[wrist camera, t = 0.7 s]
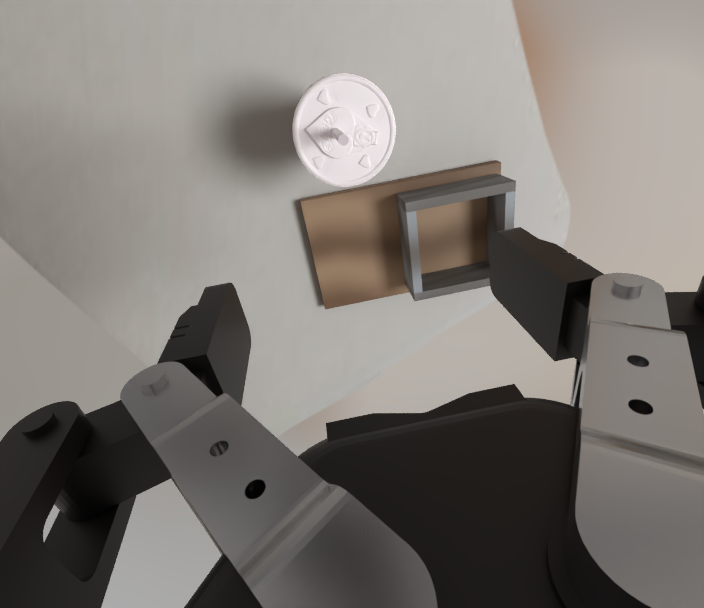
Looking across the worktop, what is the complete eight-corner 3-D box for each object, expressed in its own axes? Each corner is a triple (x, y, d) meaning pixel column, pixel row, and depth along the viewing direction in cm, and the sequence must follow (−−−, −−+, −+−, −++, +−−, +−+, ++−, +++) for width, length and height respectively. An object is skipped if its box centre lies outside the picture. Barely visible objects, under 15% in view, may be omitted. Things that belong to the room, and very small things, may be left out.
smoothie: (295, 72, 30) (294, 57, 17) (376, 84, 31) (428, 78, 18) (291, 159, 33) (287, 198, 20) (365, 168, 34) (403, 210, 21)
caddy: (300, 198, 34) (300, 212, 30) (495, 160, 35) (521, 168, 31) (324, 304, 40) (327, 327, 36) (493, 269, 40) (514, 288, 36)
